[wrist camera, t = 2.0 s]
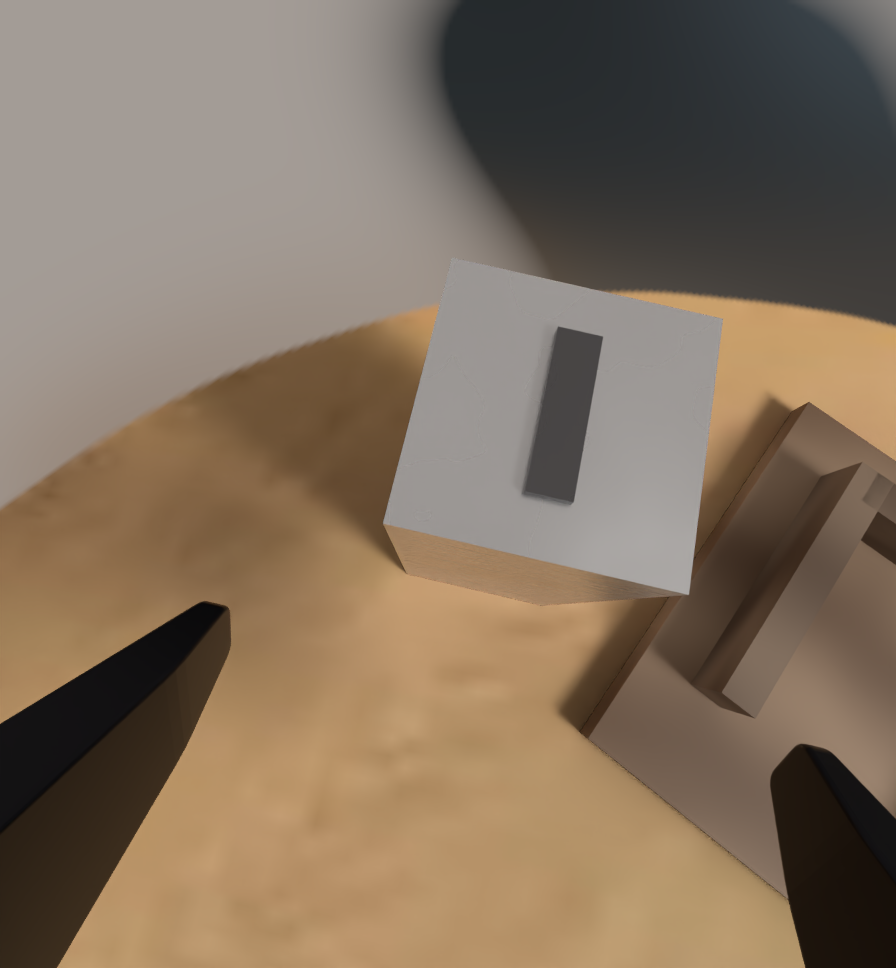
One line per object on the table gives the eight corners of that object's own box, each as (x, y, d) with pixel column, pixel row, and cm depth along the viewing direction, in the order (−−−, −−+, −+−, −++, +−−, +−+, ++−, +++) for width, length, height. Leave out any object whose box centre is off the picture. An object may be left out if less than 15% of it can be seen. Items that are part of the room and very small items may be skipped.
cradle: (940, 1022, 17) (1044, 1104, 15) (580, 732, 19) (607, 753, 16) (1115, 634, 20) (1230, 637, 18) (792, 411, 22) (848, 380, 19)
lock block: (541, 605, 20) (694, 594, 9) (406, 574, 20) (381, 521, 9) (565, 475, 21) (728, 313, 10) (438, 445, 21) (452, 250, 10)
